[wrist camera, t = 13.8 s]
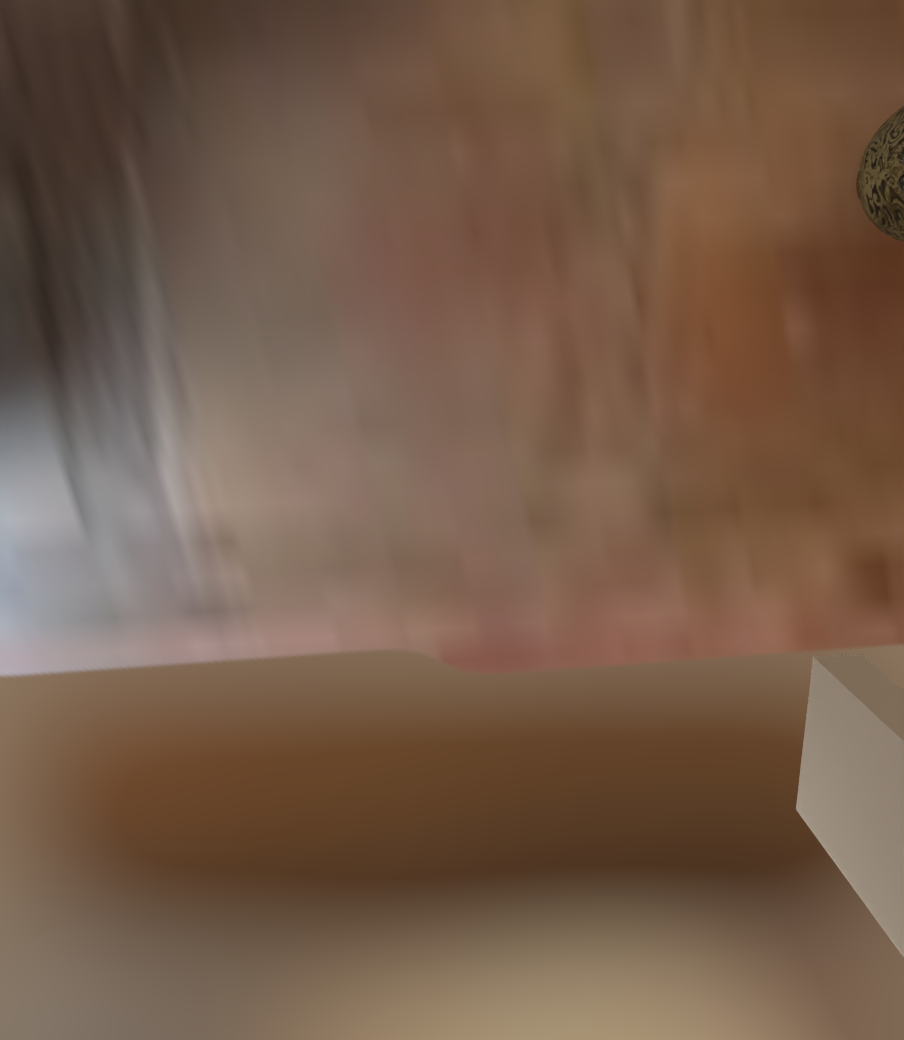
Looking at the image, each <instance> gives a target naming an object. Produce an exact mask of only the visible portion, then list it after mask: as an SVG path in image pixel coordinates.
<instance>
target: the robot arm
mask: <svg viewBox="0 0 904 1040" xmlns="http://www.w3.org/2000/svg"><path fill="white" fill-rule="evenodd" d="M796 810H797V811H798V812H799V814H800V815H801V817H802V818H803V820H804V821H805V822H806V824H807V825H808V826H809V828H810V829H811V831H812V832H813V833H814V835H815V836H816V837H817V838H818V840H819V841H820V843H821V844H822V846H823V847H824V848H825V850H826V851H827V853H828V854H829V855H830V857H831V858H832V859H833V861H834V862H835V864H836V865H837V866H838V868H839V869H840V870H841V872H842V873H843V875H844V876H845V877H846V879H847V880H848V881H849V883H850V884H851V886H852V887H853V888H854V890H855V891H856V892H857V894H858V895H859V896H860V898H861V899H862V901H863V902H864V903H865V905H866V906H867V908H868V909H869V910H870V912H871V913H872V915H873V916H874V917H875V919H876V920H877V921H878V923H879V924H880V926H881V927H882V928H883V930H884V931H885V932H886V934H887V935H888V936H889V938H890V939H891V941H892V942H893V943H894V945H895V946H896V947H897V949H898V950H899V951H900V953H901V954H902V956H903V957H904V689H903V688H902V687H901V686H900V685H899V684H897V683H896V682H895V681H894V680H892V679H891V678H890V677H889V676H888V675H886V674H885V673H884V672H883V671H882V670H881V669H879V668H878V667H877V666H876V665H875V664H873V663H872V662H871V661H870V660H869V659H867V658H866V657H865V656H864V655H862V654H857V655H840V656H839V655H838V656H821V657H813V664H812V673H811V681H810V690H809V699H808V708H807V717H806V726H805V735H804V744H803V753H802V761H801V770H800V780H799V788H798V798H797V806H796Z"/></svg>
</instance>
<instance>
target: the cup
mask: <svg viewBox="0 0 904 1040" xmlns="http://www.w3.org/2000/svg"><path fill="white" fill-rule="evenodd" d="M857 193H858V197H859V199H860V201H861V204H862V206H863V209H864V211H865V213H866V215H867V216H868V217H869V219H870V220H871V221H872V222H873V224H874V225H875V226H876V227H877V228H878V229H880V230H881V231H882V232H884V233H885V234H887V235H889V236H891V237H893V238H895V239H897V240H900V241H903V242H904V107H902V108H901V109H899V110H898V111H897V112H896V113H894V114H893V115H892V116H891V117H890V118H889V119H888V120H887V121H886V122H885V123H884V124H883V125H882V126H881V127H880V128H879V130H878V131H877V132H876V134H875V135H874V137H873V138H872V140H871V141H870V143H869V145H868V147H867V149H866V151H865V153H864V156H863V158H862V162H861V165H860V170H859V172H858V176H857Z"/></svg>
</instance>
